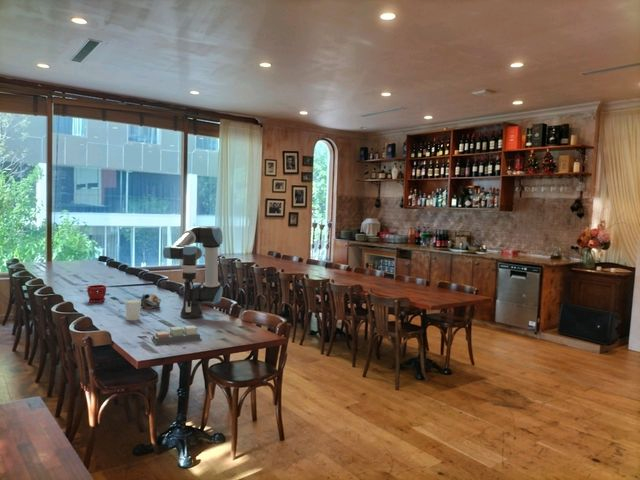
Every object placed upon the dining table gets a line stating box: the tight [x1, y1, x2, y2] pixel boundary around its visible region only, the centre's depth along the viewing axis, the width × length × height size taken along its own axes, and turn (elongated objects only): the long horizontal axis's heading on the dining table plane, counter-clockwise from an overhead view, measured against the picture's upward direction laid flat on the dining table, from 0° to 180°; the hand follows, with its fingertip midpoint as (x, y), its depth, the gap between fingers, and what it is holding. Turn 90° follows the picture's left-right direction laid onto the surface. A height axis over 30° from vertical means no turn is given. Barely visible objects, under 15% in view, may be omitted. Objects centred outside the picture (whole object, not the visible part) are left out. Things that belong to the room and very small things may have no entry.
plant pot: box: [86, 284, 107, 303], centre depth 376 cm, size 13×13×12 cm
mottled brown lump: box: [140, 293, 162, 310], centre depth 362 cm, size 15×12×14 cm
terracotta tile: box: [155, 330, 170, 338], centre depth 281 cm, size 6×6×4 cm
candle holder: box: [125, 299, 142, 321], centre depth 328 cm, size 10×10×12 cm
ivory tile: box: [183, 325, 198, 335], centre depth 289 cm, size 6×6×4 cm
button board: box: [151, 331, 202, 346], centre depth 285 cm, size 12×26×3 cm, turn 121°
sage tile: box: [169, 326, 184, 336], centre depth 284 cm, size 6×6×4 cm
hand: (188, 311), depth 287 cm, fingers closed
